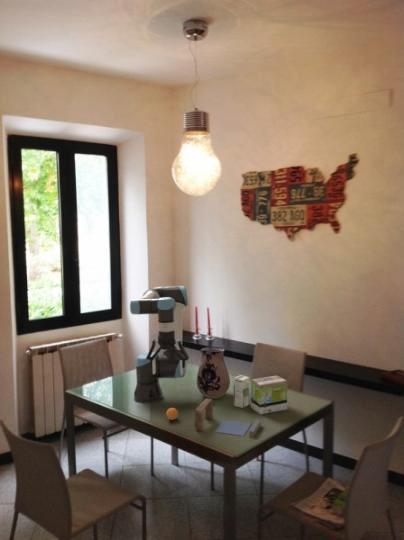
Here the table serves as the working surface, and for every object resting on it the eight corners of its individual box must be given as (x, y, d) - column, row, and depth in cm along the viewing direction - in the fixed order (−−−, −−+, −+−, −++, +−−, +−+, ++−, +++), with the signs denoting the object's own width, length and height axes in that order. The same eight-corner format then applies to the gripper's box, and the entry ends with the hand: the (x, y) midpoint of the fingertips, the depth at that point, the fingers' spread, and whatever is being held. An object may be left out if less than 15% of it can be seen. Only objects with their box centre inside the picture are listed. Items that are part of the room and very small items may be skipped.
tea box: (261, 415, 231) (260, 385, 229) (250, 408, 240) (250, 379, 238) (288, 409, 237) (287, 380, 235) (276, 402, 246) (276, 374, 244)
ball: (164, 421, 227) (164, 409, 227) (169, 416, 232) (169, 405, 232) (175, 422, 225) (174, 411, 225) (180, 417, 230) (179, 406, 230)
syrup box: (240, 402, 248) (239, 374, 246) (249, 405, 244) (249, 376, 242) (233, 405, 243) (232, 377, 242) (243, 408, 239) (242, 380, 238)
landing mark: (214, 432, 214) (214, 431, 214) (224, 420, 226) (224, 419, 226) (243, 436, 210) (243, 435, 210) (251, 424, 222) (251, 423, 222)
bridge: (195, 430, 217) (194, 410, 216) (206, 417, 230) (206, 398, 229) (201, 431, 216) (200, 411, 215) (212, 418, 229) (212, 399, 228)
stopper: (249, 436, 209) (249, 431, 209) (256, 425, 220) (256, 419, 220) (253, 437, 208) (253, 431, 208) (260, 425, 220) (260, 420, 219)
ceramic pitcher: (193, 400, 252) (191, 353, 249) (203, 386, 272) (202, 342, 269) (226, 403, 247) (225, 355, 244) (234, 388, 267) (233, 344, 264)
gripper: (138, 331, 229) (140, 375, 232) (190, 332, 225) (192, 377, 228) (143, 328, 237) (145, 370, 239) (193, 328, 232) (195, 371, 235)
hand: (168, 373), depth 233 cm, fingers open, 13 cm apart
